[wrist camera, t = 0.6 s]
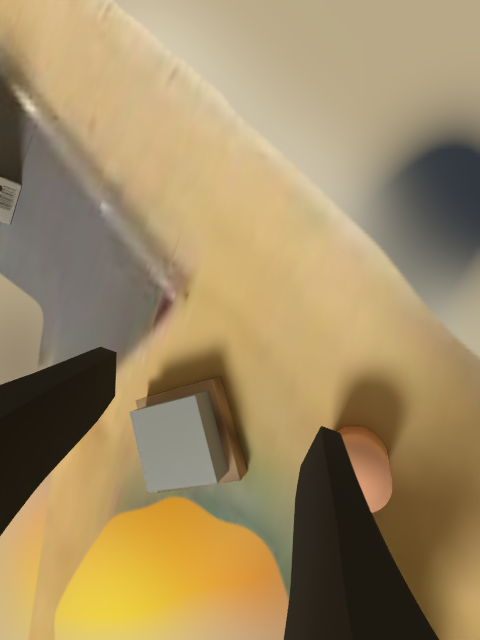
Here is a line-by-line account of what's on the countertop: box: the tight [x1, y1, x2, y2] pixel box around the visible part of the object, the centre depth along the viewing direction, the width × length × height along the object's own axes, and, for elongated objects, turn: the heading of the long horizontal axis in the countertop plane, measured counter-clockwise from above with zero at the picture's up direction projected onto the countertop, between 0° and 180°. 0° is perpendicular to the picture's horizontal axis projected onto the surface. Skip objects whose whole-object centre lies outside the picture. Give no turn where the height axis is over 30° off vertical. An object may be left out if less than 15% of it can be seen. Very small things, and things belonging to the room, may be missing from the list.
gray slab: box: [130, 391, 228, 492], centre depth 31 cm, size 8×8×2 cm
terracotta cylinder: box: [337, 426, 392, 513], centre depth 26 cm, size 5×5×5 cm
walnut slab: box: [136, 376, 247, 492], centre depth 34 cm, size 10×10×2 cm
